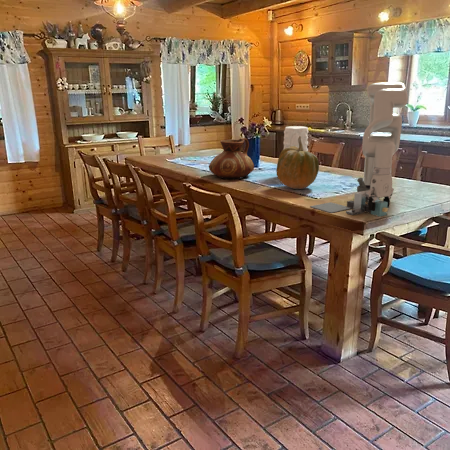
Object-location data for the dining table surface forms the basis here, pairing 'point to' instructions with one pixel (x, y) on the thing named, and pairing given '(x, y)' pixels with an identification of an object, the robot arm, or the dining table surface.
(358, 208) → the housing
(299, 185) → the pumpkin
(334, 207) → the mat
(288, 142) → the vase
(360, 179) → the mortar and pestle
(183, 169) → the dining table surface
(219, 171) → the jug
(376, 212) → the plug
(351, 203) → the lead
